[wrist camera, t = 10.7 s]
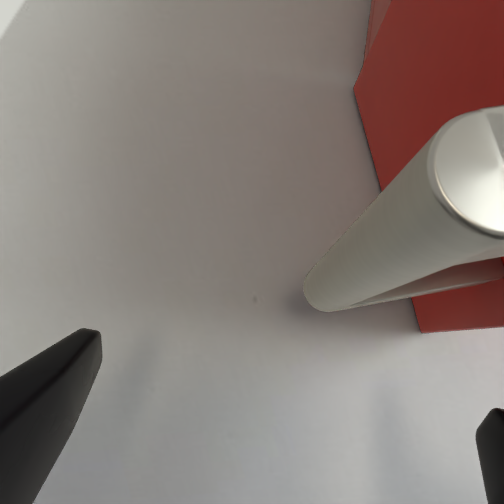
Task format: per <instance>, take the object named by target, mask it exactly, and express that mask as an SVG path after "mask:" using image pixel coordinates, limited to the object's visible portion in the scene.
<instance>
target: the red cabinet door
mask: <svg viewBox="0 0 504 504" xmlns="http://www.w3.org/2000/svg"><path fill="white" fill-rule="evenodd" d="M353 89H354V93H355V97H356V100H357V104H358V107H359V111H360V115H361V118H362V122H363V125H364V129H365V133H366V136H367V140H368V143H369V147H370V151H371V154H372V158H373V161H374V165H375V169H376V172H377V176H378V179H379V183H380V187H381V190H382V192H381V194H380V195H379V196H378V197H377V198H376V199H375V200H374V201H373V202H372V203H371V205H370V206H369V207H368V208H367V209H366V210H365V211H364V212H363V213H362V214H361V216H360V217H359V218H358V219H357V220H356V221H355V222H354V223H353V224H352V225H351V227H350V228H349V229H348V230H347V231H346V232H345V233H344V234H343V235H342V236H341V238H340V239H339V240H338V241H337V242H336V243H335V244H334V245H333V246H332V247H331V249H330V250H329V251H328V252H327V253H326V254H325V255H324V256H323V257H322V258H321V260H320V261H319V262H318V263H317V264H316V265H315V266H314V267H313V268H312V269H311V271H310V272H309V273H308V274H307V276H306V278H305V280H304V285H303V290H304V295H305V297H306V299H307V301H308V302H309V303H310V305H311V306H313V307H314V308H316V309H317V310H320V311H323V312H333V311H339V310H345V309H350V308H356V307H361V306H366V305H372V304H377V303H383V302H388V301H393V300H399V299H404V298H409V297H411V298H412V302H413V305H414V309H415V313H416V316H417V320H418V323H419V327H420V331H421V333H434V332H447V331H460V330H472V329H485V328H498V327H504V0H391V2H390V5H389V7H388V9H387V12H386V14H385V16H384V19H383V21H382V23H381V25H380V28H379V30H378V32H377V35H376V37H375V39H374V42H373V44H372V46H371V48H370V51H369V53H368V55H367V58H366V60H365V62H364V65H363V67H362V69H361V71H360V74H359V76H358V78H357V81H356V83H355V85H354V88H353Z"/></svg>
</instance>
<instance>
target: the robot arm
mask: <svg viewBox="0 0 504 504" xmlns="http://www.w3.org/2000/svg"><path fill="white" fill-rule="evenodd" d="M101 363H102V341H101V334H100V332H99V331H96V330H91V329H86V328H82V329H79V330H77V331H76V332H74V333H72V334H71V335H69V336H67V337H66V338H64V339H62V340H61V341H59V342H57V343H56V344H54V345H52V346H51V347H49V348H47V349H46V350H44V351H42V352H41V353H39V354H37V355H36V356H34V357H33V358H31V359H29V360H28V361H26V362H24V363H23V364H21V365H19V366H18V367H16V368H14V369H13V370H11V371H9V372H8V373H6V374H4V375H3V376H1V377H0V504H32V503H33V502H34V500H35V498H36V496H37V494H38V493H39V491H40V489H41V487H42V485H43V484H44V482H45V480H46V478H47V476H48V475H49V473H50V471H51V469H52V467H53V466H54V464H55V462H56V460H57V458H58V457H59V455H60V453H61V451H62V449H63V448H64V446H65V444H66V442H67V440H68V439H69V437H70V435H71V433H72V431H73V429H74V427H75V425H76V422H77V420H78V418H79V416H80V413H81V411H82V409H83V406H84V404H85V402H86V399H87V397H88V394H89V392H90V390H91V387H92V385H93V383H94V380H95V378H96V376H97V373H98V371H99V369H100V366H101ZM476 444H477V449H478V454H479V460H480V465H481V470H482V475H483V480H484V486H485V491H486V496H487V501H488V504H504V409H500V408H494V409H492V410H491V411H490V412H489V413H488V415H487V416H486V418H485V419H484V420H483V422H482V423H481V424H480V426H479V427H478V429H477V431H476Z"/></svg>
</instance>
